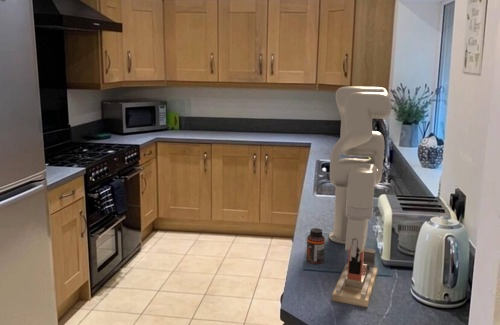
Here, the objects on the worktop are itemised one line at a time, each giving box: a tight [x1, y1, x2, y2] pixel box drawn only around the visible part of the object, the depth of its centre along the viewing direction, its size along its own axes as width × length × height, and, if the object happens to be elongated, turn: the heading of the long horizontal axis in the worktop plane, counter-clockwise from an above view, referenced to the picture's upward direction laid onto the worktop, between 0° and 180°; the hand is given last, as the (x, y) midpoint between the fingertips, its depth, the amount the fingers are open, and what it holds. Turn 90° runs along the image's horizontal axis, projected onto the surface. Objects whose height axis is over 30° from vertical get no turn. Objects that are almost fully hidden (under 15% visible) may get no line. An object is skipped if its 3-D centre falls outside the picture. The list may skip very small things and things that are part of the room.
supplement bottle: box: [305, 227, 326, 265], centre depth 166 cm, size 6×6×11 cm
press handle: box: [345, 247, 367, 288], centre depth 146 cm, size 8×5×12 cm, turn 160°
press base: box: [331, 247, 378, 308], centre depth 148 cm, size 24×10×8 cm, turn 160°
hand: (355, 270), depth 144 cm, fingers closed on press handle, 3 cm apart
